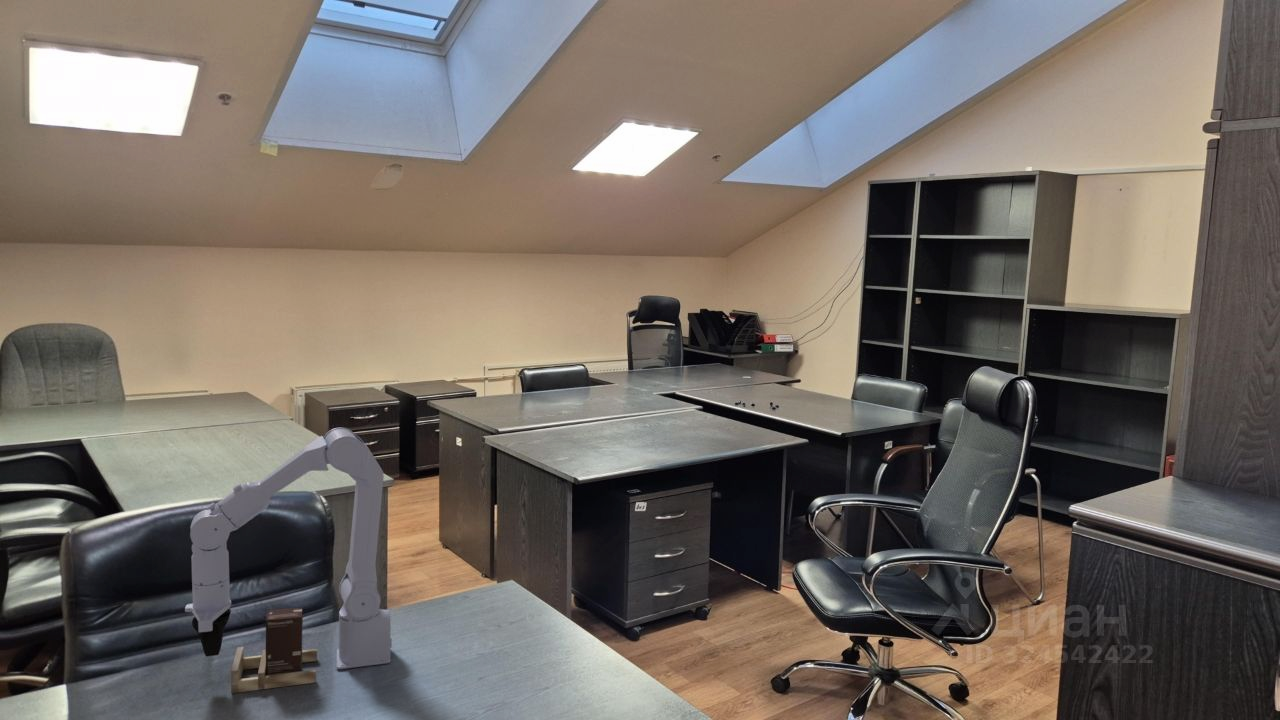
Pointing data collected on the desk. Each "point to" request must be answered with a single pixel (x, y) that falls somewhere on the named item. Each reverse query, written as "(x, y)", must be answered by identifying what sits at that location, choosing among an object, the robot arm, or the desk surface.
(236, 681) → the wooden slat rack
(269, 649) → the box
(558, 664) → the desk surface
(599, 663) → the desk surface
